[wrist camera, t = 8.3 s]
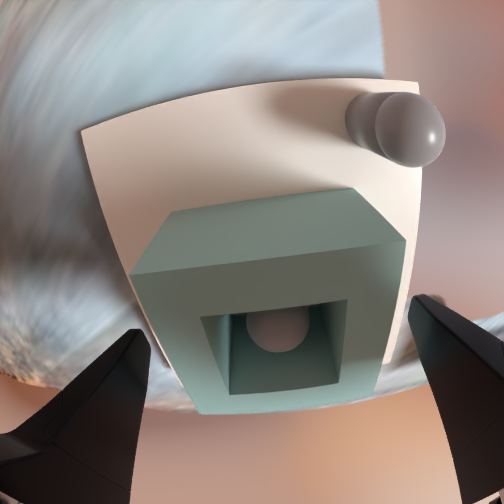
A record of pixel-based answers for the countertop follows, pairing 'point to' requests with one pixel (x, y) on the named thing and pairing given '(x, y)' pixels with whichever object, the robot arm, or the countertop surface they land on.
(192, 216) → the block with square hole
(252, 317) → the base plate
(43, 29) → the countertop surface
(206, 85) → the countertop surface
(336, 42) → the countertop surface
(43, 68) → the countertop surface
